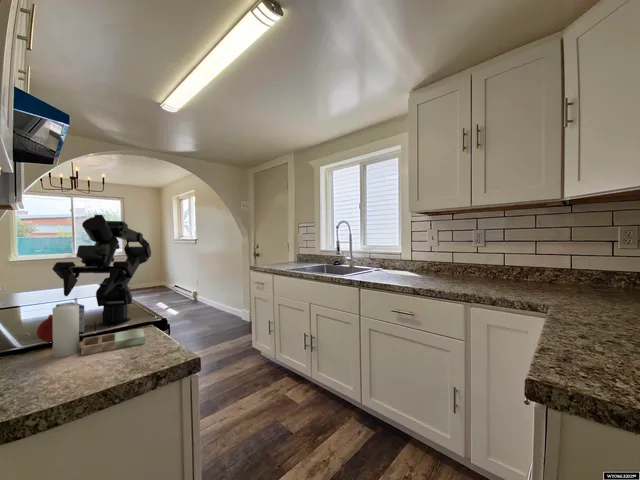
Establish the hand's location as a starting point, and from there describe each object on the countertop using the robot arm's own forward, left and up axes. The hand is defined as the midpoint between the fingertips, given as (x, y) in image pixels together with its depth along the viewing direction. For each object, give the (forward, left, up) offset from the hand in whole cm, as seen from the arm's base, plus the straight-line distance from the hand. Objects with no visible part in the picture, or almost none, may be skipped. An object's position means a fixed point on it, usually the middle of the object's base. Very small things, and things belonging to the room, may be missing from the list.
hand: (85, 294), depth 77 cm
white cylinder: (+7, +2, -14) cm, 15 cm away
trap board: (0, +9, -14) cm, 16 cm away
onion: (+2, -9, -14) cm, 16 cm away
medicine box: (-6, -13, -14) cm, 20 cm away
